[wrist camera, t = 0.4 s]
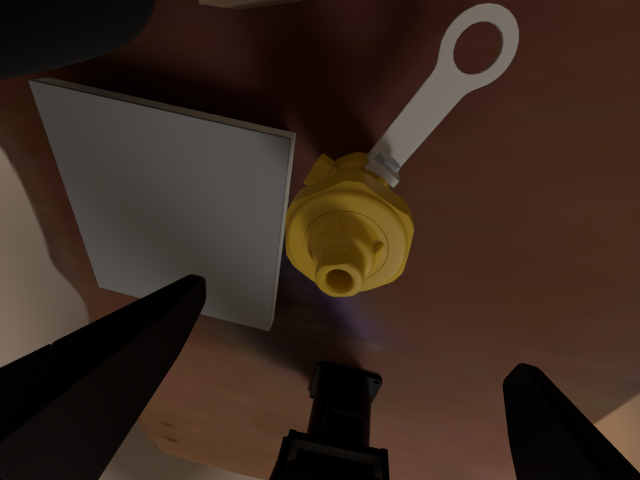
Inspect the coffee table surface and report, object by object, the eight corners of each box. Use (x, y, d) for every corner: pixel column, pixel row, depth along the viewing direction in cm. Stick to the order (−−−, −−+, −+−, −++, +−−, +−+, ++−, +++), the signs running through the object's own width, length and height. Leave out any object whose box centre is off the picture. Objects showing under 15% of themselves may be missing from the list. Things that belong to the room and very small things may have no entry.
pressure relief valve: (301, 179, 20) (241, 282, 12) (440, -28, 13) (528, -127, 5) (369, 226, 21) (357, 350, 13) (529, 54, 14) (723, 82, 6)
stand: (277, 310, 27) (268, 331, 25) (118, 270, 28) (99, 287, 26) (300, 128, 18) (290, 139, 16) (63, 75, 19) (28, 79, 17)
